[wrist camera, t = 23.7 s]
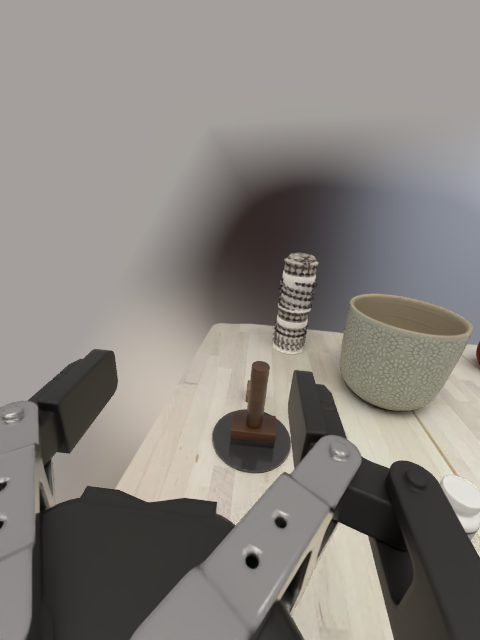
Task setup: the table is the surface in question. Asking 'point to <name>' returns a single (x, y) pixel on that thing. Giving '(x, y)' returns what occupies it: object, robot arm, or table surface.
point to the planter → (400, 349)
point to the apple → (478, 353)
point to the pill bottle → (463, 502)
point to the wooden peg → (255, 413)
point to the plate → (250, 448)
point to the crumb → (247, 391)
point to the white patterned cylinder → (294, 303)
